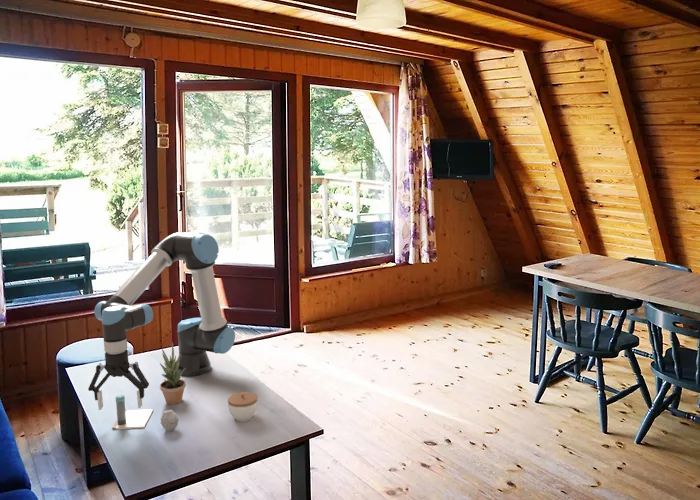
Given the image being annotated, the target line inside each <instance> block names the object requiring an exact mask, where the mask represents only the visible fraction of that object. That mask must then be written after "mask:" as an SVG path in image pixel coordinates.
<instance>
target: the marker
mask: <svg viewBox="0 0 700 500" xmlns="http://www.w3.org/2000/svg"><path fill="white" fill-rule="evenodd" d="M125 401H126V398H125V395H123V394H121V395H116V396H115V404H116V415H117V416H116V418H117V420H118V425H124V424H126V414H125V410H126V405H125V404H126V402H125ZM117 420H116V421H117Z"/></svg>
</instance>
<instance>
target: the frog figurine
mask: <svg viewBox="0 0 700 500" xmlns="http://www.w3.org/2000/svg"><path fill="white" fill-rule="evenodd" d="M160 424H161V426H162V428H163V429H164V430H165V431H167V432H173V431H174V430H176V428H178V427H177V426H178V424H179V418H178V415H177V414H176V413H175V412H174V410H173V409H168V410H165V411H163V412H162V414H161V415H160Z"/></svg>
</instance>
